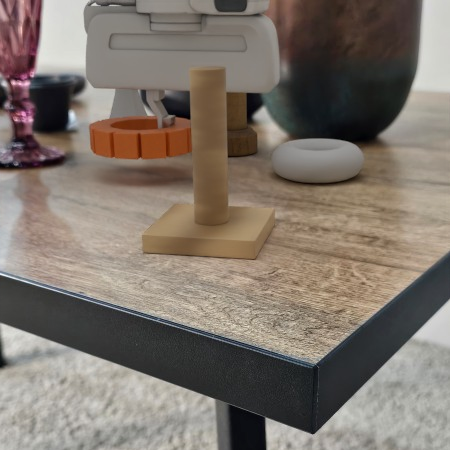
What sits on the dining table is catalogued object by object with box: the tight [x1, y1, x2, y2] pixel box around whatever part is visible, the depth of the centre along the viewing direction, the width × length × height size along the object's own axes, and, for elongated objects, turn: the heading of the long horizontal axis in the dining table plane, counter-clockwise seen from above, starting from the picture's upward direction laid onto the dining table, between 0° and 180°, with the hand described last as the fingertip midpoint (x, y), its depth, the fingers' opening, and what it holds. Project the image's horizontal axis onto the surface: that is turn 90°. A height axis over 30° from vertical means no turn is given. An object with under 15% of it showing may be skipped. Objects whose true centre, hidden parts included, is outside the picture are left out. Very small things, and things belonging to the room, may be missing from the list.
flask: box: [108, 89, 149, 119], centre depth 101 cm, size 7×7×10 cm
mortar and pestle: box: [226, 92, 259, 157], centre depth 89 cm, size 7×6×18 cm
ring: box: [88, 115, 192, 161], centre depth 80 cm, size 11×11×3 cm
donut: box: [270, 138, 365, 184], centre depth 80 cm, size 10×4×10 cm
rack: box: [141, 66, 276, 260], centre depth 59 cm, size 9×9×14 cm
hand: (183, 134), depth 79 cm, fingers closed on ring, 2 cm apart
